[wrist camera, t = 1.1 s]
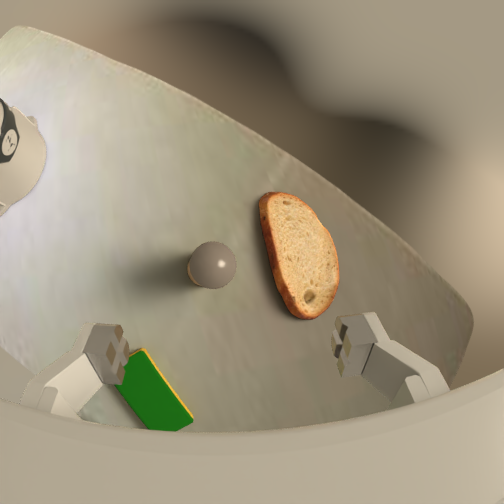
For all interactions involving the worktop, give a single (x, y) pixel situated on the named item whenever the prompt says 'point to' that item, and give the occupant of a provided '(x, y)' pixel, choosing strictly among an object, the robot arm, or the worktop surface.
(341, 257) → the worktop surface
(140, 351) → the dish sponge
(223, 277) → the grey-capped jar
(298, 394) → the worktop surface
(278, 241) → the slice of bread
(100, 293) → the worktop surface
